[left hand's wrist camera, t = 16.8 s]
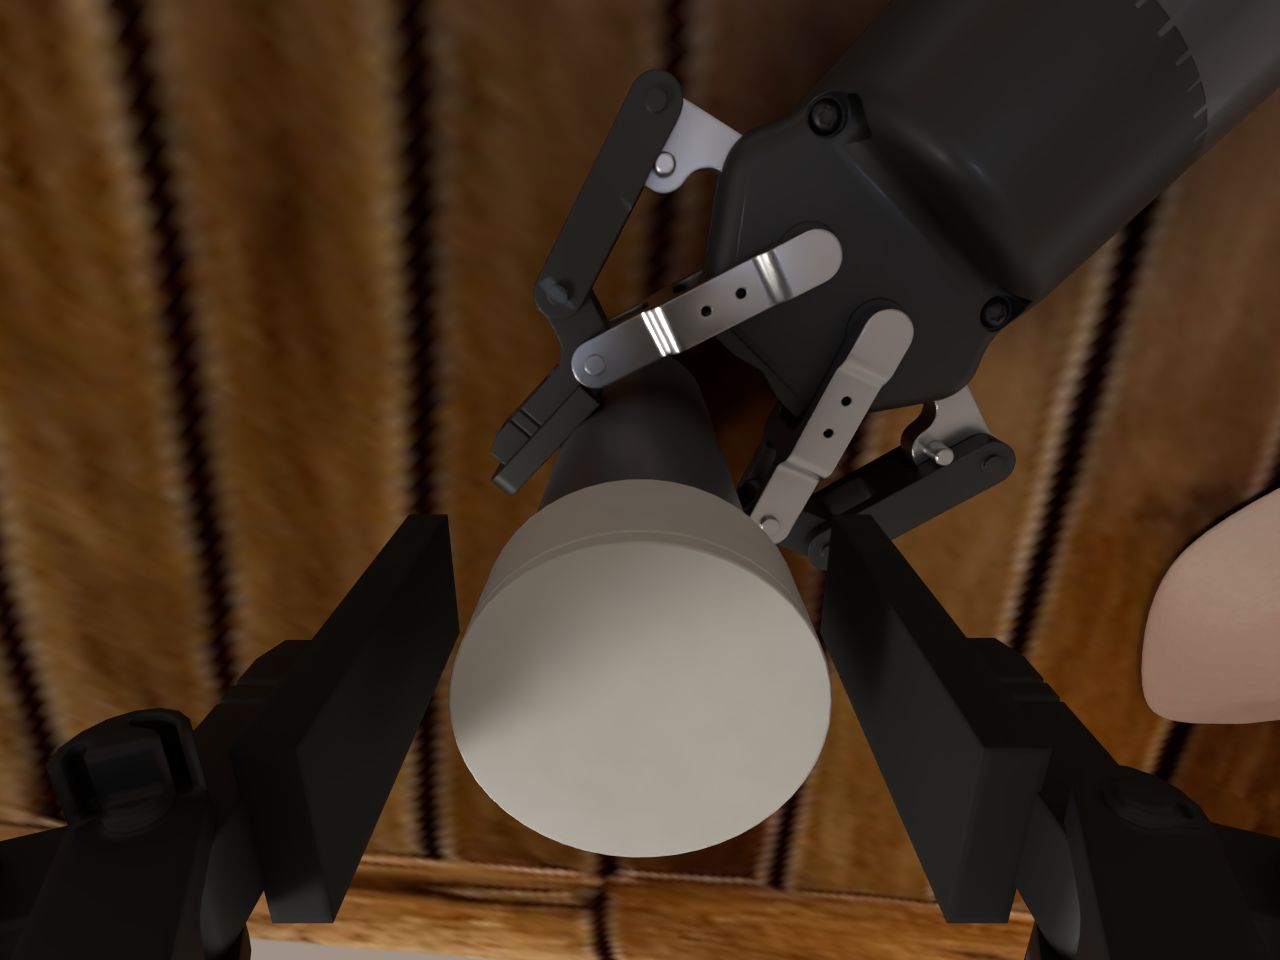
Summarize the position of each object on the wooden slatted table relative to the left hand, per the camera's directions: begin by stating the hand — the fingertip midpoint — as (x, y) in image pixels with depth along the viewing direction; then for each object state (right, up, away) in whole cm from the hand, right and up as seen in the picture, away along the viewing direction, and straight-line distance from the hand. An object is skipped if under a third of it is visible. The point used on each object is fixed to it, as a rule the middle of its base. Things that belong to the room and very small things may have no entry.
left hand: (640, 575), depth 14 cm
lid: (0, -1, -4) cm, 4 cm away
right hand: (-2, 0, +6) cm, 6 cm away
